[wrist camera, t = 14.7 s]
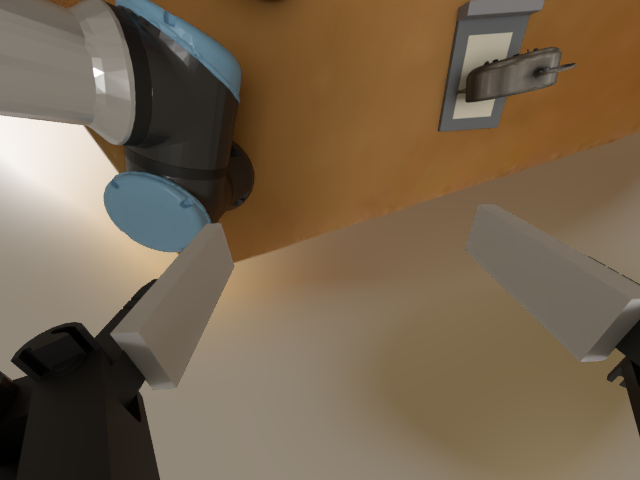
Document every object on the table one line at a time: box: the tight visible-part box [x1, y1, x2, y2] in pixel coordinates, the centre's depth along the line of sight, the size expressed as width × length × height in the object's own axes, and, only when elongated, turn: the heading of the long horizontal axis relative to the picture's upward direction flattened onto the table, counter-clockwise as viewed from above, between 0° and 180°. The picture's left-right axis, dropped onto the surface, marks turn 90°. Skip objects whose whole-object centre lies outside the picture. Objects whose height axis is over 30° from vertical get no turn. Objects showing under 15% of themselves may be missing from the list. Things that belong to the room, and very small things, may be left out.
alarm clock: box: [456, 47, 576, 103], centre depth 34 cm, size 11×5×16 cm, turn 102°
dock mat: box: [438, 0, 544, 131], centre depth 40 cm, size 11×18×3 cm, turn 4°
